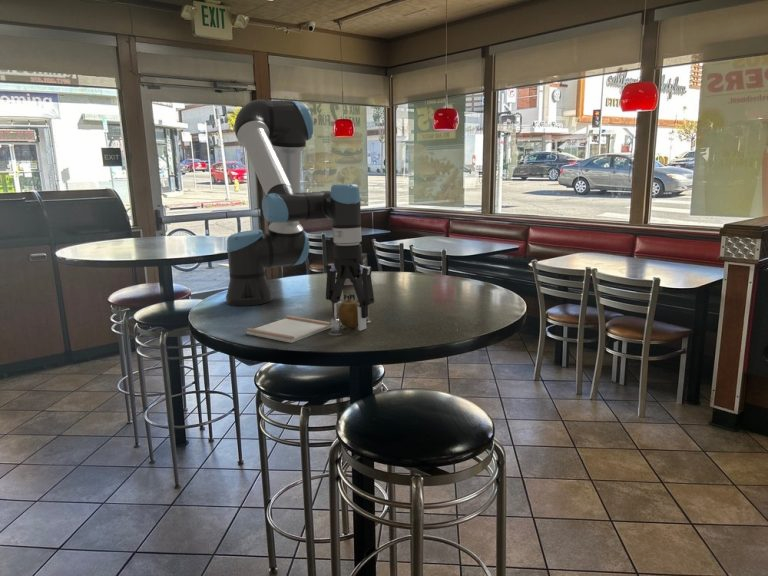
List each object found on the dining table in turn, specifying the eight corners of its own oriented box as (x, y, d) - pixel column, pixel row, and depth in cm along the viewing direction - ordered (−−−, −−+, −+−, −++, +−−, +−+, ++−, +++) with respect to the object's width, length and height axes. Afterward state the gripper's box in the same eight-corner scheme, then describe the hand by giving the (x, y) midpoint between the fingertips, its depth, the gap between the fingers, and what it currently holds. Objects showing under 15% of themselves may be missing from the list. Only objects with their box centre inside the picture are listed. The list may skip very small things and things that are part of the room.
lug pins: (326, 334, 145) (325, 320, 144) (363, 320, 158) (362, 306, 158) (336, 336, 143) (336, 321, 142) (373, 321, 156) (372, 308, 156)
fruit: (362, 324, 154) (361, 296, 152) (361, 331, 147) (360, 301, 146) (340, 325, 154) (339, 297, 152) (337, 331, 148) (336, 302, 146)
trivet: (246, 333, 147) (246, 328, 147) (288, 320, 160) (288, 315, 160) (291, 342, 139) (291, 337, 138) (331, 327, 152) (331, 322, 151)
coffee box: (362, 308, 172) (361, 257, 169) (342, 307, 174) (340, 256, 170) (369, 301, 181) (367, 252, 178) (350, 301, 183) (348, 252, 179)
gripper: (308, 243, 148) (313, 325, 153) (370, 247, 137) (373, 335, 142) (326, 240, 154) (330, 319, 159) (387, 243, 143) (389, 328, 148)
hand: (350, 327), depth 150 cm, fingers open, 7 cm apart
